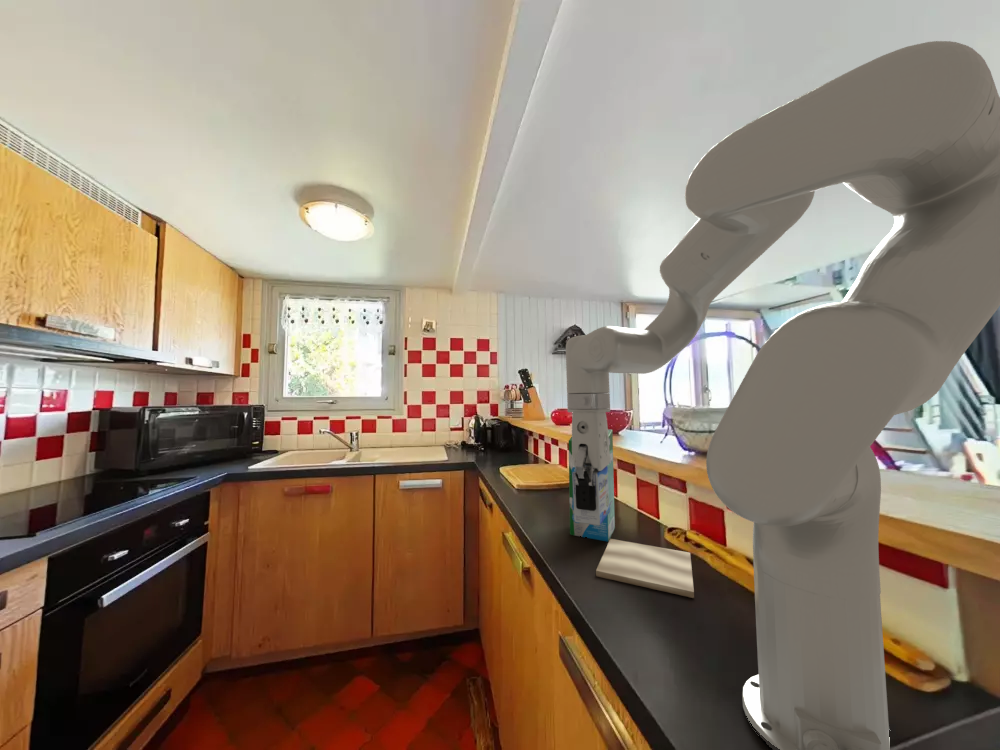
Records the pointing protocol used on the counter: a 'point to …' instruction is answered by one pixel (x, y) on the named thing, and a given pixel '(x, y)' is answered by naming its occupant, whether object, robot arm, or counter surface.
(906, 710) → the counter surface
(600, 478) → the medicine box
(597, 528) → the milk carton
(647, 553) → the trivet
